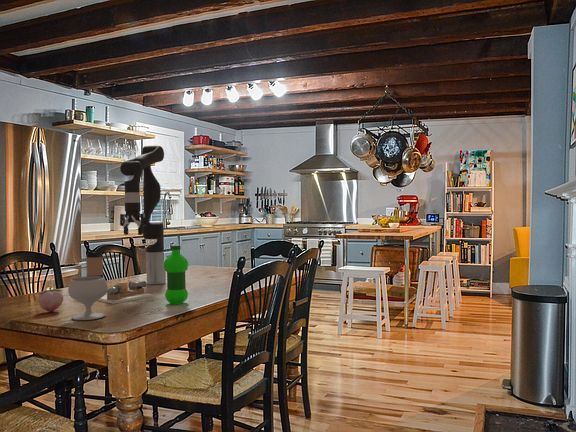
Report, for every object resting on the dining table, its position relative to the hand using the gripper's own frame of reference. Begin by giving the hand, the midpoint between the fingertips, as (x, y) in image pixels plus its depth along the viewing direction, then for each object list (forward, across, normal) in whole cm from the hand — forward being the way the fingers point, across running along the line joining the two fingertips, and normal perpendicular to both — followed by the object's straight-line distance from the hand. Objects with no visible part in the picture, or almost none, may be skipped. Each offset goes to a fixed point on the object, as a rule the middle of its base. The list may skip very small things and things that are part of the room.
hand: (133, 234), depth 257 cm
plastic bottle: (+28, +39, -20) cm, 52 cm away
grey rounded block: (+27, +10, -25) cm, 38 cm away
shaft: (+27, +10, -9) cm, 30 cm away
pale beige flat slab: (+28, +7, -17) cm, 34 cm away
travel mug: (+28, -17, -8) cm, 34 cm away
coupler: (+27, +7, -17) cm, 33 cm away
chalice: (+28, +24, -55) cm, 66 cm away
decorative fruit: (+28, +1, -52) cm, 59 cm away
